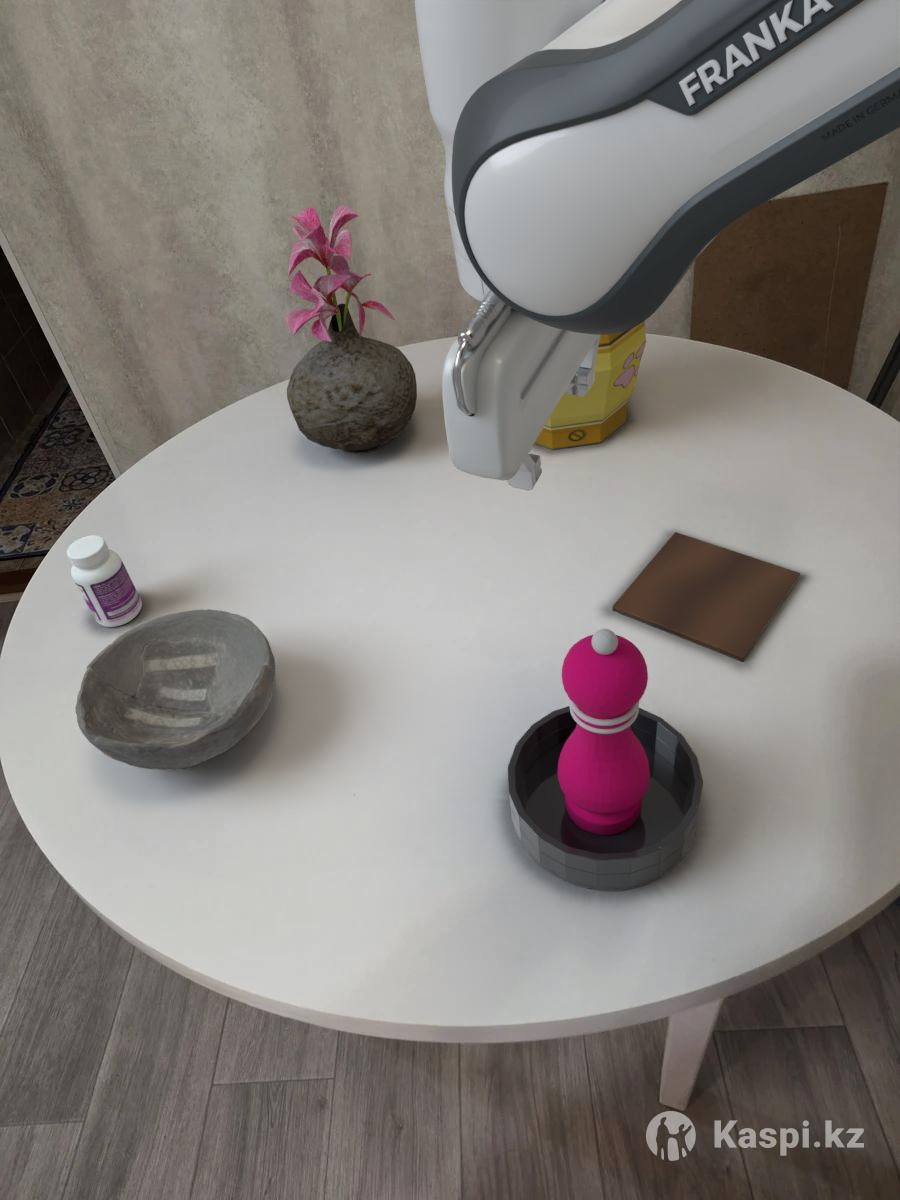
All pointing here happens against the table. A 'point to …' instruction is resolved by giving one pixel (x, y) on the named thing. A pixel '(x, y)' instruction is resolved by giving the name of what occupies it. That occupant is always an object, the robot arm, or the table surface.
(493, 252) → the robot arm
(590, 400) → the container
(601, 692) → the pepper mill
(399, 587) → the table surface
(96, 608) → the pill bottle
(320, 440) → the vase
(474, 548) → the table surface
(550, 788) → the pan
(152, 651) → the bowl
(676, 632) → the trivet
